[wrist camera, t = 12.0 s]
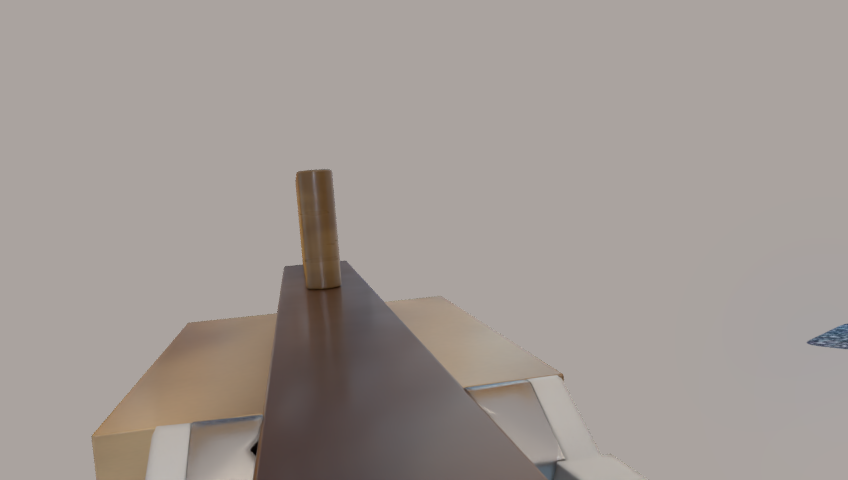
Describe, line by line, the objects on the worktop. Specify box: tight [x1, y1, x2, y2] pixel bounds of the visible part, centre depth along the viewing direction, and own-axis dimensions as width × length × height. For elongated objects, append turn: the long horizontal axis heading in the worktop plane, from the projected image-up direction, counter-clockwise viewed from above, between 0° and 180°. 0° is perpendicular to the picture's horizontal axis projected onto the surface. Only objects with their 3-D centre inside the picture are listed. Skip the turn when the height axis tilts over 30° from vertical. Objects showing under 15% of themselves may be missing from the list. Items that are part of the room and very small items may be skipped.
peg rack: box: [253, 169, 548, 480], centre depth 20 cm, size 3×28×6 cm, turn 10°
